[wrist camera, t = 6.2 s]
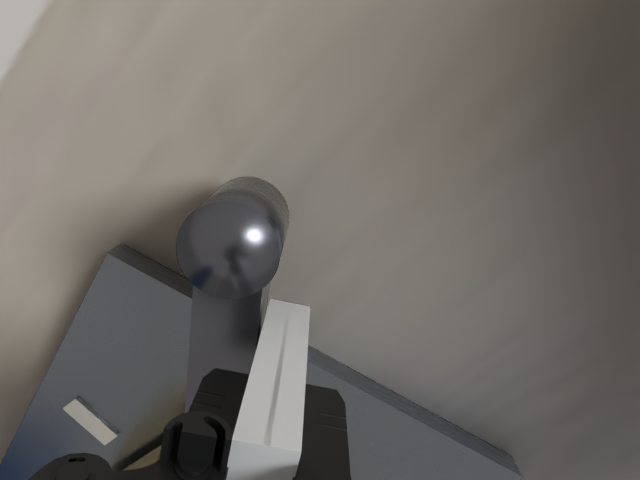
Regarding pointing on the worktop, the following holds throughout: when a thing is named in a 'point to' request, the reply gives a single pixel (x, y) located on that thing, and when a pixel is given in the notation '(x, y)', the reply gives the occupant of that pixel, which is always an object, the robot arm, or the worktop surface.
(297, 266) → the worktop surface
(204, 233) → the grey lever
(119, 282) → the base plate
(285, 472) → the robot arm
